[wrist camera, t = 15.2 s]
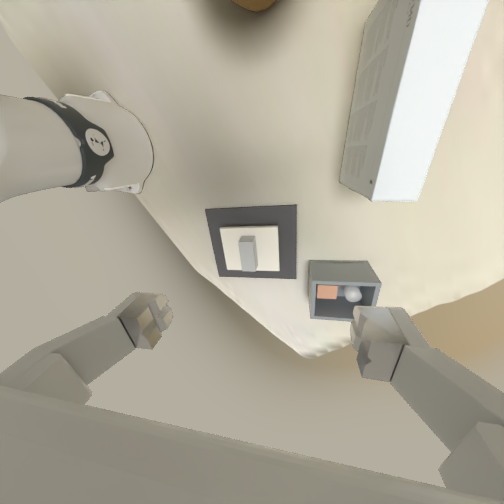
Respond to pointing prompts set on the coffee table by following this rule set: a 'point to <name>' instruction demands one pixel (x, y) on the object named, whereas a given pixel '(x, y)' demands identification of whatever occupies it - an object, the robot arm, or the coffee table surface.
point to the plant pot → (254, 4)
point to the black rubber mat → (257, 217)
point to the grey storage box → (341, 288)
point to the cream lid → (251, 248)
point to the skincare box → (405, 93)
